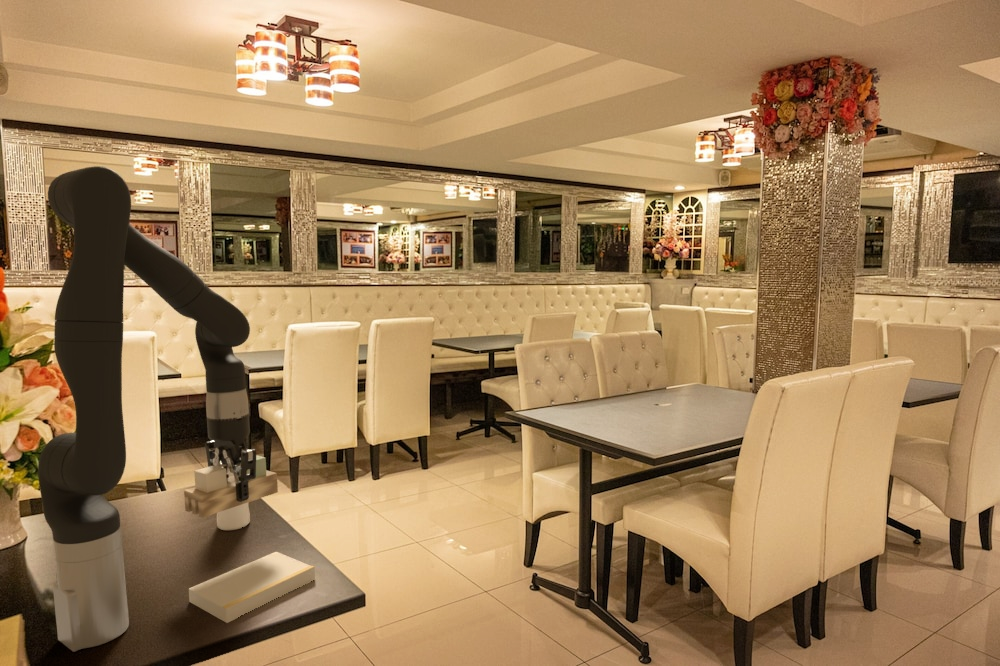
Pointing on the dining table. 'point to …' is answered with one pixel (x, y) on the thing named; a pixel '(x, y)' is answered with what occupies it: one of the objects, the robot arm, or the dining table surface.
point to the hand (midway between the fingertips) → (233, 496)
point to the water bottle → (233, 515)
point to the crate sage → (258, 466)
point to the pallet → (228, 495)
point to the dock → (250, 586)
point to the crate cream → (210, 478)
